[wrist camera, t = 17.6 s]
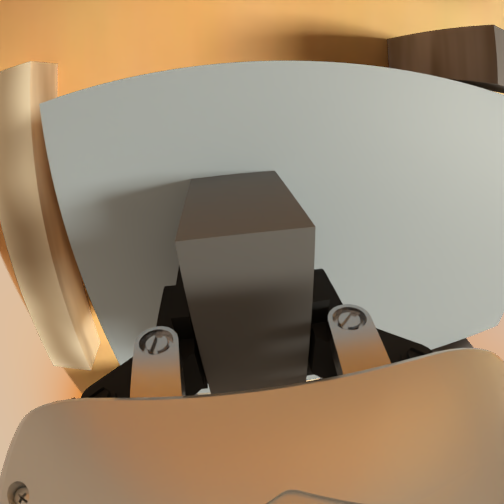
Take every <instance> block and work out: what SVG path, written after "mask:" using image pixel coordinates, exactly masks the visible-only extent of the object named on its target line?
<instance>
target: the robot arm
mask: <svg viewBox="0 0 504 504" xmlns="http://www.w3.org/2000/svg"><path fill="white" fill-rule="evenodd" d="M309 375H316V376H319V377H320V379H319V380H313V381H308V382H302V383H296V384H290V385H283V386H277V387H270V388H262V389H254V390H246V391H237V392H227V393H217V394H205V395H196V394H197V393H198V392H199V391H200V390H201V389H207V388H208V382H207V378H206V374H205V371H204V367H203V363H202V360H201V356H200V352H199V348H198V344H197V340H196V336H195V332H194V328H193V324H192V320H191V316H190V311H189V307H188V303H187V298H186V294H185V289H184V285H183V280H182V275H181V271H180V266H179V269H178V275H177V281H176V285H171V286H165V287H164V289H163V294H162V299H161V304H160V309H159V314H158V319H157V324H156V327H152V328H149V329H147V330H145V331H143V332H142V333H141V334H140V335H139V336H138V337H137V338H136V340H135V344H134V352H133V357H132V358H130V359H129V360H127V361H126V362H124V363H123V364H122V365H120V366H119V367H117V368H116V369H114V370H113V371H111V372H110V373H109V374H107V375H106V376H104V377H103V378H101V379H100V380H98V381H97V382H95V383H94V384H93V385H91V386H90V387H89V388H87V389H86V390H85V391H84V393H83V394H82V396H81V398H78V399H76V398H72V399H68V400H61V401H56V402H52V403H49V404H45V405H42V406H40V407H38V408H36V409H34V410H32V411H30V413H28V414H27V415H26V416H25V417H24V418H23V419H22V421H21V423H20V424H19V426H18V428H17V430H16V432H15V434H14V437H13V439H12V441H11V444H10V446H9V449H8V452H7V455H6V459H5V462H4V465H3V469H2V472H1V476H0V504H504V361H503V360H502V359H501V358H500V357H499V356H498V355H496V354H494V353H493V352H491V351H488V350H484V349H478V348H456V349H448V350H443V351H437V352H433V351H432V350H430V349H429V348H428V347H426V346H424V345H422V344H419V343H416V342H413V341H411V340H408V339H405V338H402V337H399V336H397V335H394V334H391V333H388V332H386V331H383V330H380V329H377V328H376V327H375V325H374V322H373V320H372V318H371V316H370V314H369V313H368V311H366V310H365V309H364V308H362V307H360V306H357V305H352V304H342V302H341V300H340V298H339V296H338V294H337V293H336V291H335V289H334V287H333V285H332V284H331V282H330V280H329V278H328V276H327V275H326V273H325V271H324V270H323V269H314V281H313V300H312V315H311V330H310V343H309V355H308V366H307V376H309Z"/></svg>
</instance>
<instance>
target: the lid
mask: <svg viewBox="0 0 504 504" xmlns="http://www.w3.org/2000/svg"><path fill="white" fill-rule="evenodd" d="M39 105H40V113H41V120H42V127H43V133H44V139H45V145H46V150H47V156H48V161H49V165H50V170H51V175H52V179H53V183H54V188H55V192H56V196H57V200H58V203H59V207H60V211H61V215H62V218H63V222H64V225H65V228H66V232H67V235H68V238H69V241H70V244H71V248H72V251H73V254H74V257H75V260H76V262H77V265H78V268H79V271H80V274H81V276H82V279H83V282H84V284H85V287H86V290H87V292H88V295H89V297H90V300H91V302H92V305H93V307H94V310H95V312H96V314H97V317H98V319H99V321H100V324H101V326H102V328H103V330H104V333H105V335H106V337H107V339H108V341H109V343H110V346H111V348H112V350H113V352H114V354H115V356H116V358H117V360H118V362H119V364H120V365H122V364H123V363H124V362H126V361H127V360H129V359H130V358H132V357H133V352H134V344H135V340H136V338H137V337H138V336H139V335H140V334H141V333H142V332H143V331H145V330H147V329H149V328H152V327H156V324H157V319H158V314H159V309H160V304H161V299H162V294H163V289H164V287H165V286H171V285H176V281H177V275H178V269H179V266H180V271H181V275H182V280H183V285H184V289H185V294H186V298H187V303H188V307H189V311H190V316H191V320H192V324H193V328H194V332H195V336H196V340H197V344H198V348H199V352H200V356H201V360H202V363H203V367H204V371H205V374H206V378H207V382H208V388H207V389H201V390H200V391H199V392H198V393H210V392H211V394H217V393H227V392H237V391H246V390H254V389H262V388H270V387H277V386H283V385H290V384H296V383H302V382H306V380H310V379H316V378H320V377H319V376H316V375H309V376H307V366H308V355H309V343H310V330H311V315H312V300H313V281H314V269H323V270H324V271H325V273H326V275H327V276H328V278H329V280H330V282H331V284H332V285H333V287H334V289H335V291H336V293H337V294H338V296H339V298H340V300H341V302H342V304H352V305H357V306H360V307H362V308H364V309H365V310H366V311H368V313H369V314H370V316H371V318H372V320H373V322H374V325H375V327H376V328H377V329H380V330H383V331H386V332H388V333H391V334H394V335H397V336H399V337H402V338H405V339H408V340H411V341H413V342H416V343H419V344H422V345H424V346H426V347H428V348H429V349H430V350H432V349H435V348H438V347H441V346H444V345H447V344H450V343H453V342H456V341H459V340H461V339H464V338H467V337H470V336H472V335H475V334H477V333H480V332H483V331H485V330H488V329H490V328H493V327H495V326H497V325H498V324H499V321H500V319H501V317H502V315H503V313H504V95H502V94H499V93H496V92H493V91H490V90H487V89H483V88H480V87H476V86H473V85H469V84H466V83H462V82H458V81H454V80H450V79H446V78H442V77H437V76H432V75H428V74H423V73H417V72H412V71H406V70H400V69H394V68H387V67H379V66H371V65H362V64H352V63H339V62H322V61H252V62H235V63H222V64H212V65H203V66H194V67H187V68H179V69H173V70H167V71H161V72H155V73H150V74H144V75H139V76H135V77H130V78H125V79H121V80H117V81H113V82H109V83H105V84H101V85H97V86H93V87H90V88H86V89H83V90H79V91H76V92H73V93H70V94H66V95H63V96H60V97H57V98H54V99H52V100H49V101H46V102H43V103H40V104H39Z"/></svg>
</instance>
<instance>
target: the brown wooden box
mask: <svg viewBox="0 0 504 504" xmlns="http://www.w3.org/2000/svg"><path fill="white" fill-rule="evenodd" d="M387 45H388V62H389V68H394V69H400V70H406V71H412V72H417V73H423V74H428V75H432V76H437V77H442V78H446V79H450V80H454V81H458V82H462V83H466V84H469V85H473V86H476V87H480V88H483V89H487V90H490V91H494V92H500V93H504V30H503V29H501V28H499V27H497V26H495V25H483V26H469V27H459V28H450V29H442V30H435V31H428V32H422V33H416V34H410V35H405V36H400V37H395V38H390V39H387ZM456 348H473V347H472V345H471V344H470V343H469V342H468V340H467V339H466V338H464V339H461V340H459V341H456V342H453V343H450V344H447V345H444V346H441V347H438V348H435V349H432V351H433V352H437V351H443V350H448V349H456Z"/></svg>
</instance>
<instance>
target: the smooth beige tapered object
mask: <svg viewBox="0 0 504 504" xmlns="http://www.w3.org/2000/svg"><path fill="white" fill-rule="evenodd" d="M57 79H58V64H56V63H47V62H35V61H30V62H26V63H23V64H20V65H17V66H14V67H11V68H8V69H6V70H3V71H0V222H1V227H2V231H3V235H4V238H5V242H6V246H7V249H8V253H9V256H10V260H11V263H12V266H13V269H14V272H15V275H16V278H17V281H18V284H19V287H20V290H21V293H22V295H23V298H24V301H25V303H26V306H27V308H28V311H29V313H30V316H31V318H32V321H33V323H34V325H35V328H36V330H37V332H38V335H39V337H40V339H41V341H42V343H43V345H44V348H45V350H46V352H47V354H48V356H49V358H50V360H51V362H52V364H53V366H58V367H66V368H74V369H82V370H91V369H92V366H93V363H94V360H95V357H96V354H97V351H98V348H99V345H100V339H99V336H98V333H97V330H96V327H95V324H94V320H93V317H92V314H91V311H90V307H89V304H88V300H87V297H86V293H85V289H84V286H83V282H82V278H81V274H80V271H79V268H78V265H77V262H76V260H75V257H74V254H73V251H72V248H71V244H70V241H69V238H68V235H67V232H66V228H65V225H64V222H63V218H62V215H61V211H60V207H59V203H58V200H57V196H56V192H55V188H54V183H53V179H52V175H51V170H50V165H49V161H48V156H47V150H46V145H45V139H44V133H43V127H42V120H41V113H40V105H39V104H40V103H43V102H46V101H49V100H52V99H54V98H57Z"/></svg>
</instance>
